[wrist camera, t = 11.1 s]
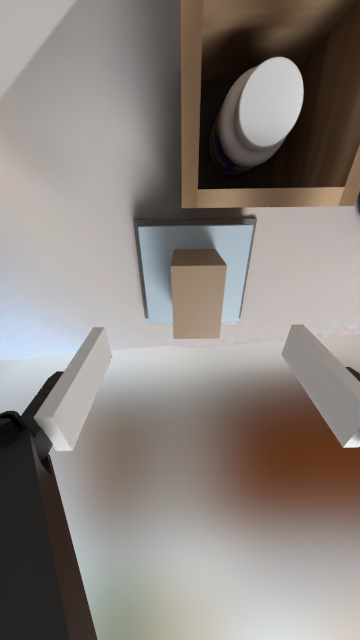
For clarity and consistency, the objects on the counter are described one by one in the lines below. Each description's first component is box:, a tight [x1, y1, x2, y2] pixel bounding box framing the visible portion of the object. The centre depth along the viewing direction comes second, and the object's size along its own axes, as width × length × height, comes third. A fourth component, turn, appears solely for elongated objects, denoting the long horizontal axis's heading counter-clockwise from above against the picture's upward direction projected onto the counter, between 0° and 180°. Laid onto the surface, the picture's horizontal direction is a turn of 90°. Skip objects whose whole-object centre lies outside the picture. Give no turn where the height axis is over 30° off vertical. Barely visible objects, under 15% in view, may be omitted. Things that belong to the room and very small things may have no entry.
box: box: [180, 0, 360, 208], centre depth 15 cm, size 11×11×12 cm
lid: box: [138, 224, 253, 339], centre depth 23 cm, size 13×13×9 cm
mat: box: [134, 218, 257, 318], centre depth 28 cm, size 15×14×1 cm
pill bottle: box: [209, 57, 304, 174], centre depth 16 cm, size 5×5×10 cm
